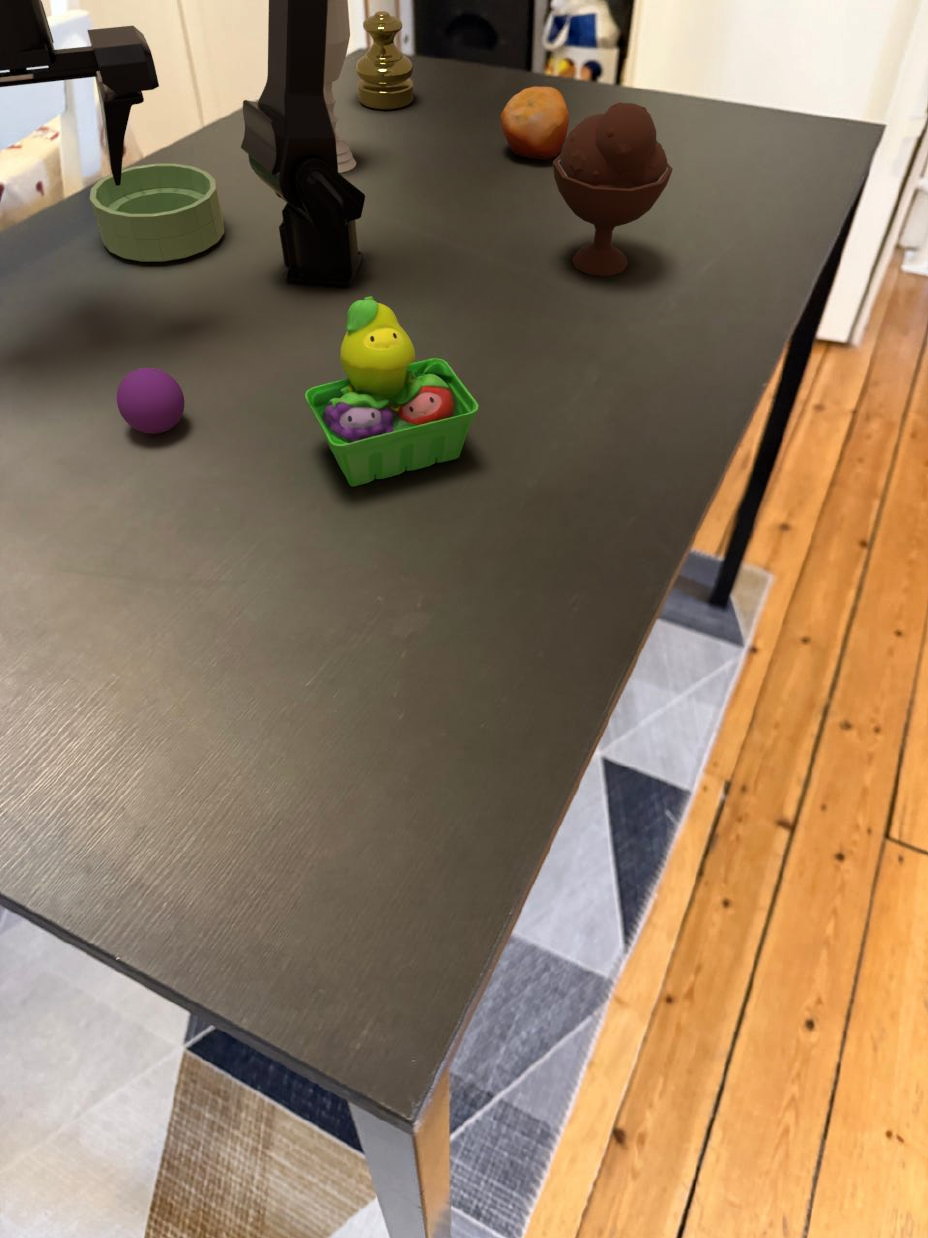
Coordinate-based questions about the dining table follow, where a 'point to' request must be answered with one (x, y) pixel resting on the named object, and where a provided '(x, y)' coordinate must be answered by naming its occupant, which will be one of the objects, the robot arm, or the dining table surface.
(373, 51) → the gold chess piece
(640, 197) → the ice cream bowl
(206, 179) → the green bowl
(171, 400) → the ball
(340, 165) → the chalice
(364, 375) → the fruit basket
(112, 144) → the robot arm
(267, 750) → the dining table surface
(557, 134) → the fruit
